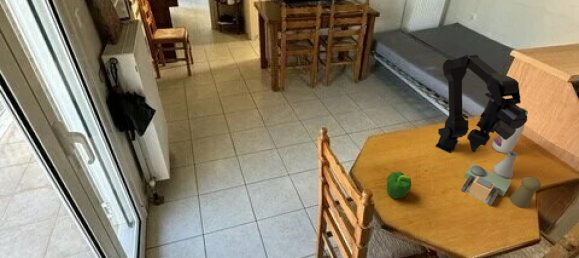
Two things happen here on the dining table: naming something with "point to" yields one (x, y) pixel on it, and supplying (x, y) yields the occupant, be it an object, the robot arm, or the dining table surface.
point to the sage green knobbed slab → (489, 178)
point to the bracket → (493, 191)
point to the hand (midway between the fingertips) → (477, 146)
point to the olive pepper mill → (525, 192)
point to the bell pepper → (398, 184)
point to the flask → (506, 166)
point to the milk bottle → (508, 144)
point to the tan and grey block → (481, 187)
